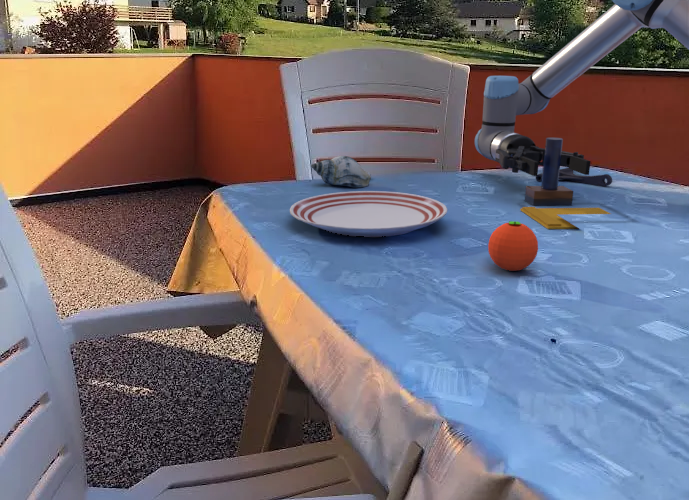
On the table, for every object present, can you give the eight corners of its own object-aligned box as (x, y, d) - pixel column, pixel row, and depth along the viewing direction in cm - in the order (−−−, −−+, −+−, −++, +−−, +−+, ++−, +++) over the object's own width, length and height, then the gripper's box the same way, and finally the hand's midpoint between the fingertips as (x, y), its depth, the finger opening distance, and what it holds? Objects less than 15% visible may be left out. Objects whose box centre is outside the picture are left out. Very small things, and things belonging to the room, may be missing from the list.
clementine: (483, 259, 106) (487, 213, 104) (530, 261, 105) (535, 215, 103) (488, 276, 98) (492, 226, 96) (539, 278, 98) (544, 229, 96)
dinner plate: (297, 248, 110) (297, 227, 109) (284, 207, 136) (283, 190, 135) (467, 243, 114) (469, 223, 113) (423, 204, 140) (423, 188, 139)
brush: (561, 200, 146) (568, 136, 142) (571, 205, 141) (579, 140, 138) (524, 200, 145) (530, 136, 142) (533, 205, 141) (539, 140, 137)
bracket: (594, 191, 155) (596, 178, 154) (535, 180, 165) (536, 169, 165) (624, 183, 165) (626, 171, 164) (566, 174, 175) (568, 162, 174)
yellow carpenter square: (599, 209, 138) (599, 205, 138) (634, 228, 125) (635, 223, 125) (520, 210, 137) (520, 206, 136) (547, 229, 123) (548, 224, 123)
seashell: (364, 196, 154) (312, 190, 157) (373, 176, 159) (323, 171, 162) (361, 171, 149) (308, 166, 153) (371, 152, 155) (319, 148, 158)
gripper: (559, 166, 161) (613, 186, 140) (464, 168, 157) (505, 188, 136) (562, 133, 159) (618, 148, 138) (466, 134, 155) (508, 149, 134)
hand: (562, 168), depth 137 cm, fingers open, 10 cm apart
